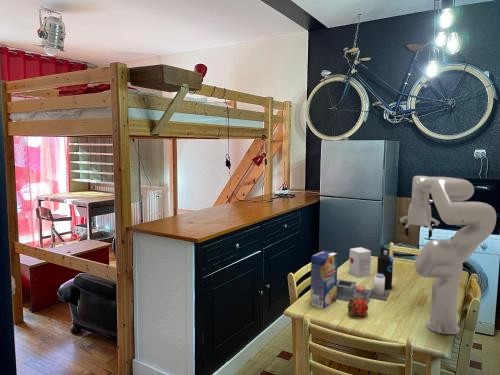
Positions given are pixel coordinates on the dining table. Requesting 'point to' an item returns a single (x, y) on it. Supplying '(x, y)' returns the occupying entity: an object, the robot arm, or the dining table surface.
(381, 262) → the aerosol can
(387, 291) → the mat
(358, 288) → the plunger
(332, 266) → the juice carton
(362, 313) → the dragon fruit
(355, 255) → the supplement box
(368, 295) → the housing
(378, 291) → the cylinder
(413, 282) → the dining table surface
